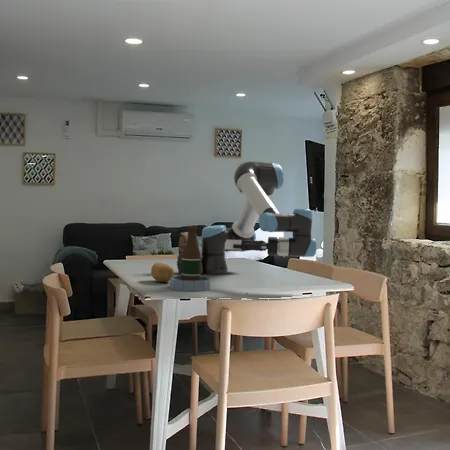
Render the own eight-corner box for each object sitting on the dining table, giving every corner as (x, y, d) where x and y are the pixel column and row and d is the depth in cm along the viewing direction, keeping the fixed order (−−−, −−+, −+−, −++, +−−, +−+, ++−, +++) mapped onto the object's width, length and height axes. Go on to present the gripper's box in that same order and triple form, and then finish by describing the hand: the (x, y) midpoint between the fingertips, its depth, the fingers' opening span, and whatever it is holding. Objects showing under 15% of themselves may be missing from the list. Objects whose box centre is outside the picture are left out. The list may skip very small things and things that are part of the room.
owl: (176, 274, 272) (178, 232, 271) (174, 271, 284) (175, 231, 283) (203, 275, 274) (204, 233, 273) (199, 271, 287) (200, 231, 286)
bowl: (172, 284, 240) (172, 274, 240) (210, 285, 240) (211, 276, 240) (168, 290, 224) (168, 280, 224) (209, 291, 224) (209, 281, 224)
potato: (157, 284, 238) (157, 265, 237) (146, 280, 250) (147, 261, 250) (179, 284, 242) (179, 265, 242) (167, 279, 255) (168, 261, 254)
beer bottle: (182, 286, 228) (183, 226, 227) (179, 284, 235) (181, 225, 234) (201, 286, 229) (203, 227, 228) (198, 284, 237) (200, 226, 236)
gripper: (278, 258, 221) (223, 256, 221) (275, 252, 246) (226, 250, 246) (279, 239, 220) (224, 237, 221) (276, 235, 245) (226, 233, 246)
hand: (225, 244), depth 234 cm, fingers open, 13 cm apart
